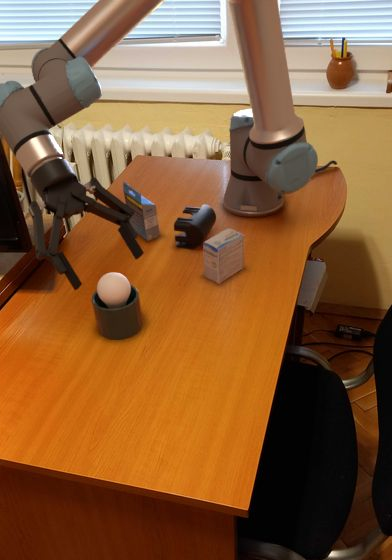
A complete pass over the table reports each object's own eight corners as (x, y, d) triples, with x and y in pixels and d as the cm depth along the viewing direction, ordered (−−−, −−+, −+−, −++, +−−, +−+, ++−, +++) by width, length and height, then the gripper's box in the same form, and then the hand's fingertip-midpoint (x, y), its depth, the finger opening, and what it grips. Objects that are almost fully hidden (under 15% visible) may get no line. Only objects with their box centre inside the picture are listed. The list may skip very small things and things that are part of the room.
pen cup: (135, 307, 111) (130, 278, 107) (148, 332, 105) (144, 302, 101) (93, 318, 109) (86, 289, 105) (104, 345, 103) (98, 315, 98)
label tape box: (160, 236, 132) (155, 188, 124) (146, 242, 131) (140, 193, 122) (142, 223, 138) (136, 175, 130) (128, 228, 136) (121, 180, 128)
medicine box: (229, 262, 122) (228, 226, 116) (244, 269, 120) (244, 233, 114) (204, 277, 118) (202, 241, 112) (219, 285, 116) (218, 249, 110)
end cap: (204, 252, 126) (202, 225, 121) (175, 248, 128) (172, 222, 123) (216, 231, 133) (216, 205, 128) (189, 227, 135) (187, 201, 130)
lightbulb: (105, 335, 104) (95, 287, 97) (103, 316, 109) (93, 268, 101) (137, 329, 105) (130, 281, 98) (133, 310, 109) (126, 263, 102)
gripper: (99, 157, 108) (155, 251, 109) (-20, 202, 96) (46, 307, 97) (110, 136, 101) (170, 237, 102) (-15, 181, 89) (55, 294, 90)
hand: (110, 271), depth 100 cm, fingers open, 13 cm apart
